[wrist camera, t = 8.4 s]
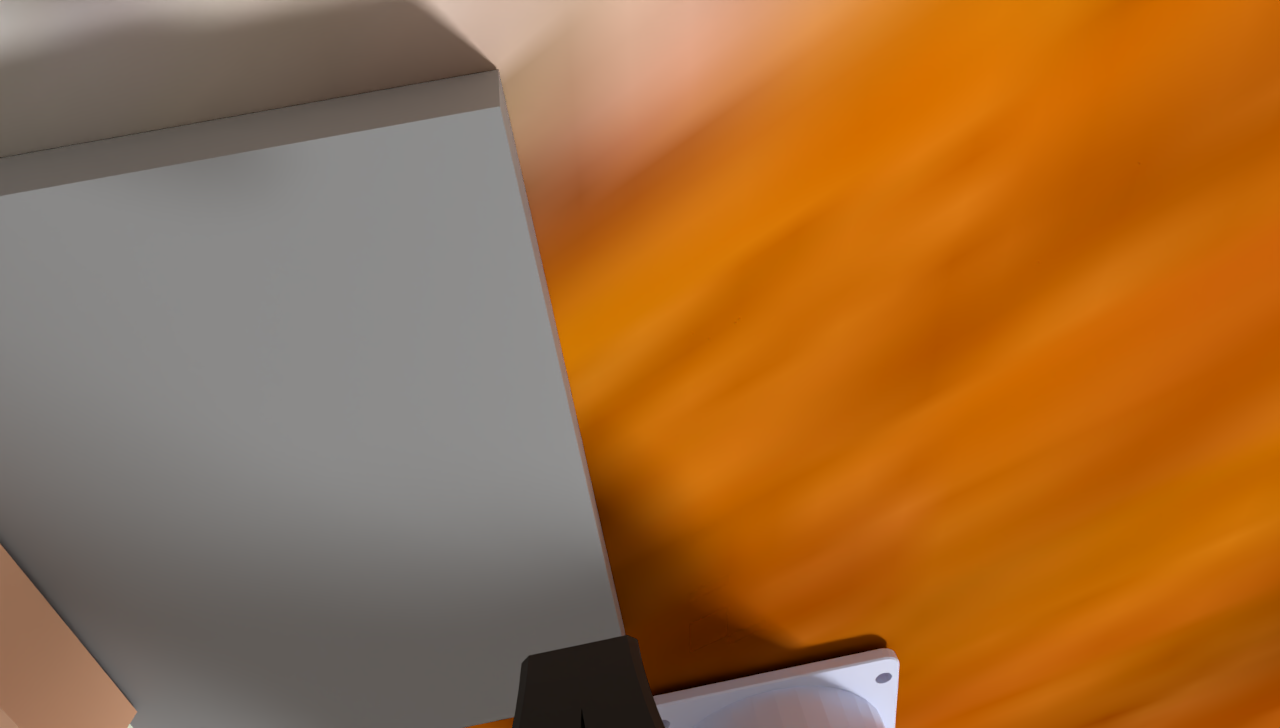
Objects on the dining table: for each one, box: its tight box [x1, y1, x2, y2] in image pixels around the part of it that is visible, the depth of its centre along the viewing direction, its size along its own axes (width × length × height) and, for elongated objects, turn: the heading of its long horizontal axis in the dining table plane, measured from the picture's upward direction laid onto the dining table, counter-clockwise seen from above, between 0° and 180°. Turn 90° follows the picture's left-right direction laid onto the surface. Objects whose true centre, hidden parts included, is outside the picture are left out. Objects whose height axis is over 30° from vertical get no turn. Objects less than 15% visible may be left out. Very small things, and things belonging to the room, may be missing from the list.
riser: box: [0, 70, 625, 728], centre depth 19 cm, size 16×12×2 cm
